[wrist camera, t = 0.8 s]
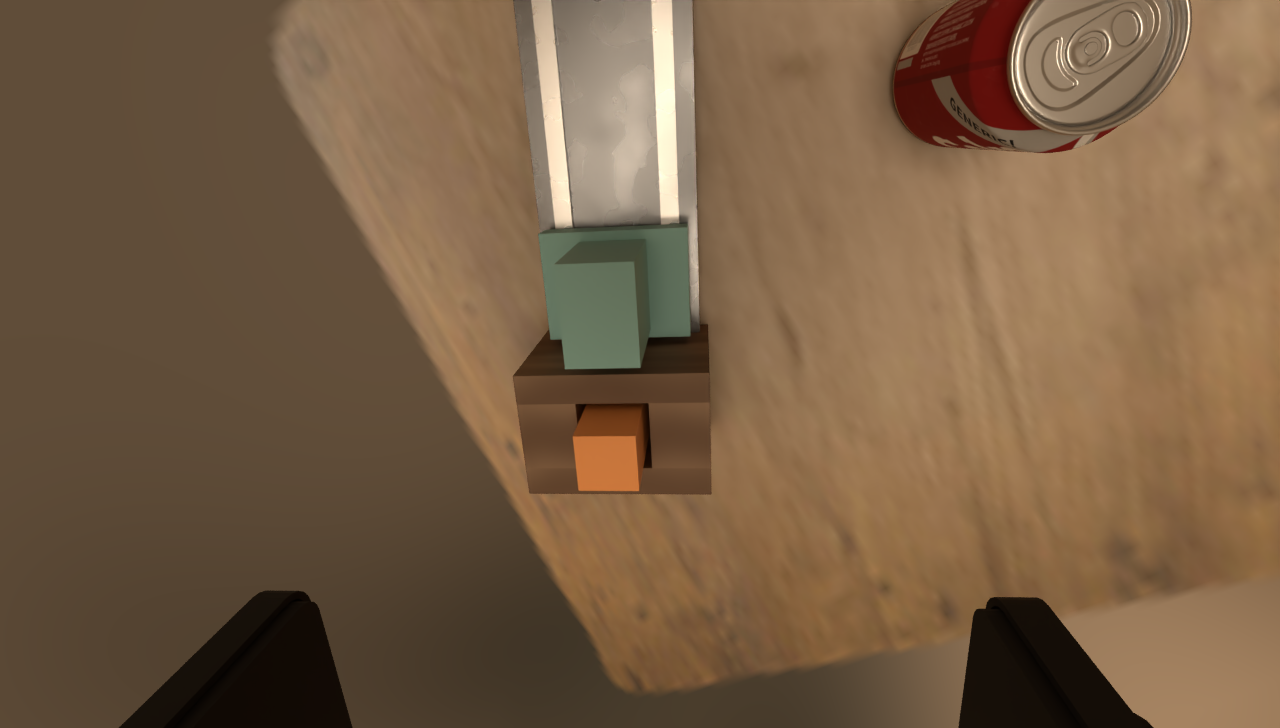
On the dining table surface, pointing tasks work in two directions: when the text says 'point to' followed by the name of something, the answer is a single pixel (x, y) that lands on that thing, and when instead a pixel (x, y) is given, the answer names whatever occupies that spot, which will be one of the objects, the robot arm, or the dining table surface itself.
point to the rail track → (612, 115)
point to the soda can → (1037, 70)
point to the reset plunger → (611, 446)
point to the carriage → (615, 291)
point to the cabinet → (663, 381)
